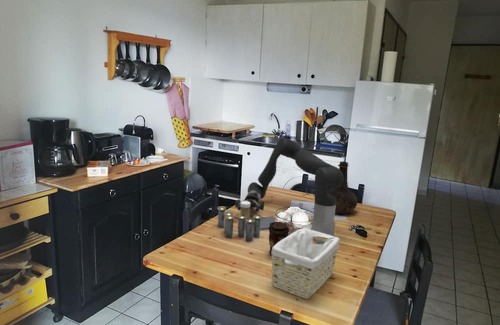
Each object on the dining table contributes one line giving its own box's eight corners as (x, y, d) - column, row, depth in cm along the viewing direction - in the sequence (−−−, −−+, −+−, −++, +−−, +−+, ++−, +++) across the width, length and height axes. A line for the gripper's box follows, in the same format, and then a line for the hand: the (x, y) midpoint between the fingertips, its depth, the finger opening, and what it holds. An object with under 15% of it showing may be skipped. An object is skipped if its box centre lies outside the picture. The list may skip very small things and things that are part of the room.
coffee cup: (262, 251, 150) (264, 221, 148) (280, 248, 154) (282, 219, 151) (272, 261, 143) (274, 230, 140) (290, 258, 146) (293, 227, 143)
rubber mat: (284, 227, 176) (284, 225, 176) (259, 230, 171) (259, 228, 171) (272, 218, 188) (272, 216, 188) (249, 220, 183) (249, 218, 183)
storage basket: (298, 260, 144) (301, 225, 141) (337, 274, 136) (342, 237, 133) (266, 287, 125) (269, 246, 122) (310, 304, 116) (314, 262, 113)
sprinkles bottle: (246, 232, 168) (248, 204, 165) (237, 230, 170) (238, 202, 167) (250, 228, 172) (251, 201, 170) (241, 227, 174) (242, 200, 171)
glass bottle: (358, 209, 207) (364, 161, 201) (353, 219, 191) (359, 167, 185) (326, 204, 214) (331, 157, 208) (319, 213, 198) (324, 162, 192)
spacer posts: (264, 240, 161) (266, 220, 158) (229, 244, 155) (230, 223, 153) (247, 222, 180) (248, 204, 178) (215, 225, 174) (216, 206, 172)
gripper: (239, 191, 193) (233, 200, 177) (266, 193, 191) (262, 203, 175) (239, 204, 195) (232, 215, 179) (265, 207, 193) (261, 218, 177)
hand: (247, 209), depth 177 cm, fingers open, 8 cm apart
